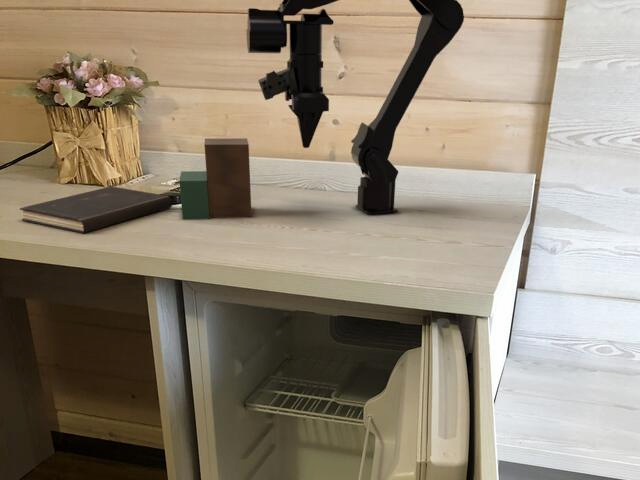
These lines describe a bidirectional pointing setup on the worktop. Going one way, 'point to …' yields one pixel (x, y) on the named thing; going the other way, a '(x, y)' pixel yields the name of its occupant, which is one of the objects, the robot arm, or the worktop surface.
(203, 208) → the green block
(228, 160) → the walnut block
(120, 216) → the hardcover book
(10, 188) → the worktop surface
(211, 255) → the worktop surface
